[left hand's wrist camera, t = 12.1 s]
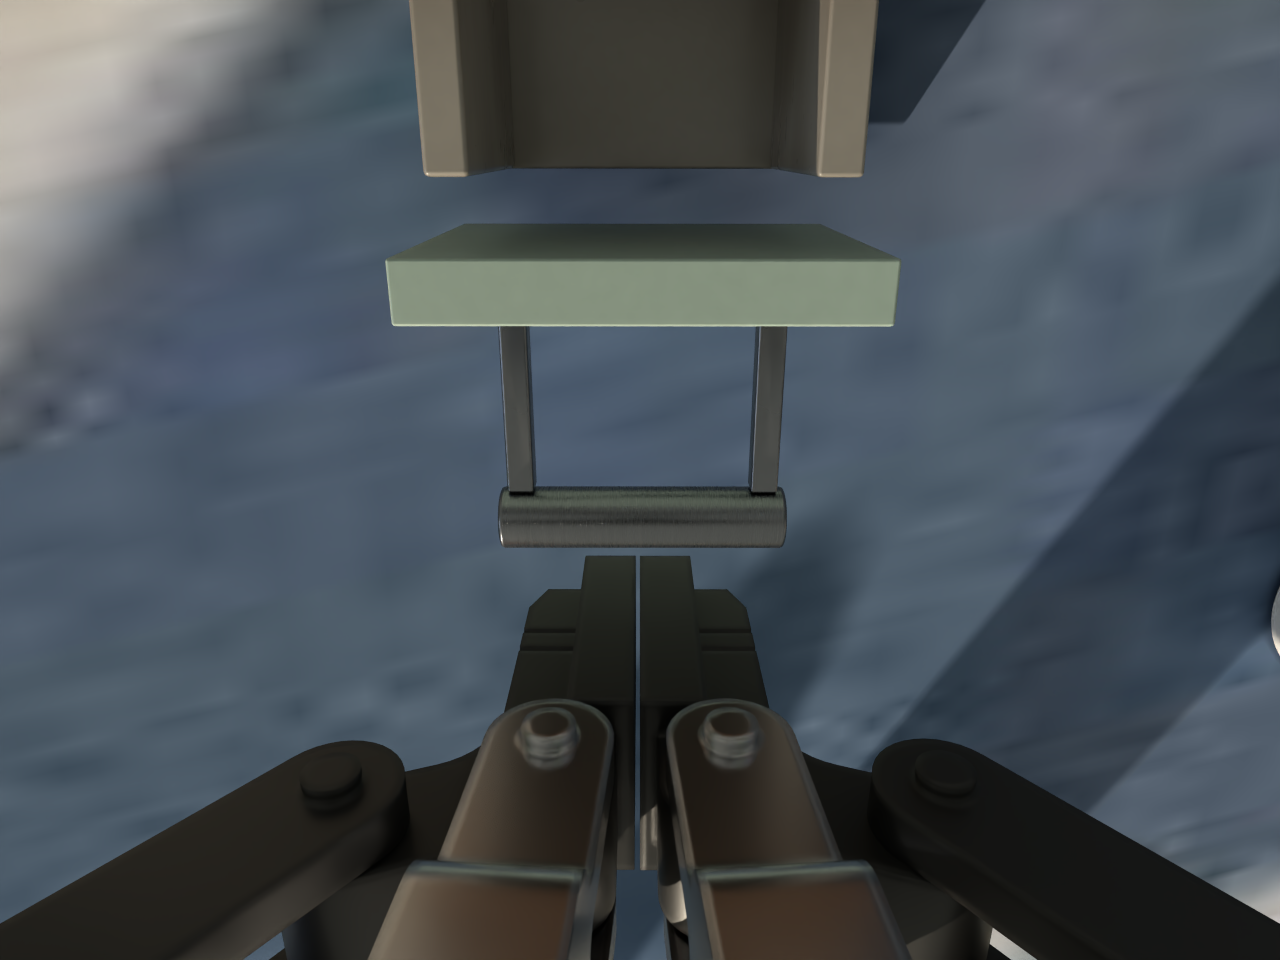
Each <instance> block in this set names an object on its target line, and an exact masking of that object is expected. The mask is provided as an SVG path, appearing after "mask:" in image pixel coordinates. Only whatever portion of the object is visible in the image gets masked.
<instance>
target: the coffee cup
mask: <svg viewBox="0 0 1280 960" xmlns="http://www.w3.org/2000/svg"><path fill="white" fill-rule="evenodd" d="M1271 628H1272V635H1273V640H1274V643H1275V646H1276V649H1277V651H1278V653H1279V655H1280V587H1279V589H1278V592H1277V594H1276V597H1275V601H1274V605H1273V610H1272V618H1271Z"/></svg>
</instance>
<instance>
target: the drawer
mask: <svg viewBox="0 0 1280 960" xmlns="http://www.w3.org/2000/svg"><path fill="white" fill-rule="evenodd" d="M409 6H410V18H411V29H412V41H413V53H414V65H415V77H416V89H417V101H418V113H419V124H420V136H421V148H422V160H423V171H424V173H425V175H427V176H429V177H466V176H472V175H477V174H483V173H488V172H494V171H500V170H505V169H511V168H588V169H778V170H783V171H789V172H795V173H801V174H806V175H812V176H818V177H861V176H862V175H863V173H864V165H865V154H866V143H867V131H868V120H869V109H870V98H871V86H872V75H873V64H874V52H875V41H876V30H877V19H878V7H879V0H409ZM900 269H901V259H899V258H896V257H894V256H892V255H889V254H887V253H885V252H883V251H880V250H878V249H876V248H873V247H871V246H869V245H866V244H864V243H862V242H860V241H857V240H855V239H853V238H850V237H848V236H846V235H844V234H841V233H839V232H837V231H834V230H832V229H830V228H828V227H825V226H823V225H821V224H463V225H461V226H459V227H457V228H454V229H452V230H450V231H448V232H445V233H443V234H441V235H439V236H437V237H434V238H432V239H430V240H428V241H425V242H423V243H421V244H419V245H416V246H414V247H412V248H410V249H407V250H405V251H403V252H401V253H399V254H396V255H394V256H392V257H390V258H387V259H386V271H387V281H388V290H389V300H390V310H391V319H392V324H393V325H394V326H498V331H499V348H500V365H501V382H502V399H503V416H504V433H505V450H506V468H507V485H508V486H506V487H504V488H502V490H501V493H500V497H499V506H498V531H499V538H500V542H501V545H502V546H503V547H505V548H780V547H782V546H783V544H784V541H785V537H786V529H787V507H786V498H785V494H784V491H783V489H782V488H781V487H777V485H778V469H779V453H780V437H781V421H782V405H783V389H784V372H785V356H786V340H787V326H893V325H894V323H895V315H896V306H897V297H898V287H899V278H900ZM529 326H756V334H755V354H754V375H753V395H752V415H751V436H750V456H749V476H748V483H749V487H631V486H535V485H536V460H535V438H534V416H533V394H532V372H531V350H530V328H529Z"/></svg>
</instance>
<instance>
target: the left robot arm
mask: <svg viewBox="0 0 1280 960" xmlns="http://www.w3.org/2000/svg"><path fill="white" fill-rule="evenodd" d="M635 727H636V556H586V557H585V564H584V572H583V579H582V587H581V589H548V590H547V591H546V592H545V593H544V594H543V595H542V596H541V597H540V598H539V599H538V600H537V601H536V602H535V603H534V604H533V605H532V606H530V607H529V611H528V615H527V620H526V624H525V628H524V633H523V636H522V640H521V644H520V651H519V653H518V657H517V661H516V665H515V669H514V674H513V678H512V682H511V686H510V690H509V694H508V699H507V703H506V707H505V711H504V713H503V714H501V715H500V716H499V717H498V718H497V719H495V720H494V721H493V723H492V724H491V725H490V726H489V728H488V730H487V732H486V734H485V736H484V739H483V741H482V744H481V746H480V747H478V748H477V749H475V750H474V751H472V752H470V753H468V754H466V755H464V756H462V757H459V758H457V759H454V760H451V761H448V762H445V763H441V764H437V765H433V766H429V767H424V768H420V769H415V770H411V771H406V772H405V770H404V766H403V763H402V761H401V759H400V758H399V757H398V755H397V754H396V753H394V752H393V751H392V750H391V749H389V748H387V747H385V746H383V745H380V744H377V743H373V742H367V741H340V742H334V743H328V744H325V745H321V746H318V747H315V748H312V749H309V750H307V751H304V752H302V753H300V754H298V755H296V756H294V757H293V758H291V759H289V760H287V761H285V762H284V763H282V764H280V765H278V766H277V767H275V768H273V769H271V770H270V771H268V772H266V773H264V774H263V775H261V776H259V777H257V778H256V779H254V780H252V781H250V782H249V783H247V784H245V785H243V786H242V787H240V788H238V789H236V790H235V791H233V792H231V793H229V794H227V795H226V796H224V797H222V798H220V799H219V800H217V801H215V802H213V803H212V804H210V805H208V806H206V807H205V808H203V809H201V810H199V811H198V812H196V813H194V814H192V815H191V816H189V817H187V818H185V819H184V820H182V821H180V822H178V823H176V824H175V825H173V826H171V827H169V828H168V829H166V830H164V831H162V832H161V833H159V834H157V835H155V836H154V837H152V838H150V839H148V840H147V841H145V842H143V843H141V844H140V845H138V846H136V847H134V848H133V849H131V850H129V851H127V852H125V853H124V854H122V855H120V856H118V857H117V858H115V859H113V860H111V861H110V862H108V863H106V864H104V865H103V866H101V867H99V868H97V869H96V870H94V871H92V872H90V873H89V874H87V875H85V876H83V877H82V878H80V879H78V880H76V881H75V882H73V883H71V884H69V885H67V886H66V887H64V888H62V889H60V890H59V891H57V892H55V893H53V894H52V895H50V896H48V897H46V898H45V899H43V900H41V901H39V902H38V903H36V904H34V905H32V906H31V907H29V908H27V909H25V910H24V911H22V912H20V913H18V914H16V915H15V916H13V917H11V918H9V919H8V920H6V921H4V922H2V923H1V924H0V960H243V959H244V958H246V957H247V956H248V955H250V954H251V953H253V952H254V951H255V950H257V949H258V948H259V947H261V946H262V945H264V944H265V943H266V942H268V941H269V940H271V939H272V938H273V937H275V936H276V935H277V934H279V933H280V932H282V936H283V941H284V946H285V948H284V949H283V950H281V951H280V952H279V953H277V954H276V955H275V956H273V957H272V958H271V959H269V960H613V957H614V948H615V940H616V876H617V870H634V855H635ZM640 870H658V897H659V903H660V906H661V908H662V911H663V913H664V940H665V948H666V957H667V960H1011V959H1009V958H1008V957H1007V956H1005V955H1004V954H1003V953H1001V952H1000V951H999V950H997V949H996V948H994V947H993V946H992V945H990V939H991V934H992V928H994V929H996V930H997V931H998V932H1000V933H1001V934H1003V935H1004V936H1005V937H1007V938H1008V939H1009V940H1011V941H1012V942H1014V943H1015V944H1016V945H1018V946H1019V947H1021V948H1022V949H1023V950H1025V951H1026V952H1027V953H1029V954H1030V955H1032V956H1033V957H1034V958H1036V959H1037V960H1280V924H1279V923H1278V922H1276V921H1274V920H1272V919H1271V918H1269V917H1267V916H1265V915H1263V914H1262V913H1260V912H1258V911H1256V910H1255V909H1253V908H1251V907H1249V906H1248V905H1246V904H1244V903H1242V902H1241V901H1239V900H1237V899H1235V898H1234V897H1232V896H1230V895H1228V894H1227V893H1225V892H1223V891H1221V890H1220V889H1218V888H1216V887H1214V886H1212V885H1211V884H1209V883H1207V882H1205V881H1204V880H1202V879H1200V878H1198V877H1197V876H1195V875H1193V874H1191V873H1190V872H1188V871H1186V870H1184V869H1183V868H1181V867H1179V866H1177V865H1176V864H1174V863H1172V862H1170V861H1169V860H1167V859H1165V858H1163V857H1162V856H1160V855H1158V854H1156V853H1154V852H1153V851H1151V850H1149V849H1147V848H1146V847H1144V846H1142V845H1140V844H1139V843H1137V842H1135V841H1133V840H1132V839H1130V838H1128V837H1126V836H1125V835H1123V834H1121V833H1119V832H1118V831H1116V830H1114V829H1112V828H1111V827H1109V826H1107V825H1105V824H1103V823H1102V822H1100V821H1098V820H1096V819H1095V818H1093V817H1091V816H1089V815H1088V814H1086V813H1084V812H1082V811H1081V810H1079V809H1077V808H1075V807H1074V806H1072V805H1070V804H1068V803H1067V802H1065V801H1063V800H1061V799H1060V798H1058V797H1056V796H1054V795H1052V794H1051V793H1049V792H1047V791H1045V790H1044V789H1042V788H1040V787H1038V786H1037V785H1035V784H1033V783H1031V782H1030V781H1028V780H1026V779H1024V778H1023V777H1021V776H1019V775H1017V774H1016V773H1014V772H1012V771H1010V770H1009V769H1007V768H1005V767H1003V766H1002V765H1000V764H998V763H996V762H994V761H993V760H991V759H989V758H987V757H986V756H984V755H982V754H980V753H978V752H976V751H974V750H972V749H970V748H967V747H964V746H962V745H959V744H955V743H951V742H947V741H942V740H936V739H911V740H905V741H901V742H898V743H894V744H892V745H890V746H888V747H887V748H885V749H884V750H883V751H881V752H880V753H879V755H878V756H877V757H876V759H875V761H874V764H873V767H872V773H871V772H866V771H862V770H857V769H853V768H848V767H844V766H839V765H835V764H832V763H828V762H824V761H822V760H819V759H816V758H814V757H811V756H809V755H808V754H806V753H804V752H802V751H801V749H800V747H799V744H798V741H797V739H796V736H795V734H794V732H793V730H792V728H791V726H790V725H789V724H788V723H787V721H786V720H785V719H783V718H782V717H781V716H780V715H779V714H777V713H776V712H774V711H772V710H771V709H769V705H768V701H767V696H766V692H765V688H764V683H763V679H762V675H761V670H760V666H759V662H758V657H757V653H756V651H755V644H754V640H753V636H752V633H751V627H750V623H749V618H748V614H747V610H746V607H745V606H744V605H743V604H742V603H741V602H740V601H739V600H738V599H737V598H735V597H734V596H733V595H732V594H731V593H730V592H729V591H728V590H727V589H694V584H693V576H692V568H691V560H690V556H640Z"/></svg>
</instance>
